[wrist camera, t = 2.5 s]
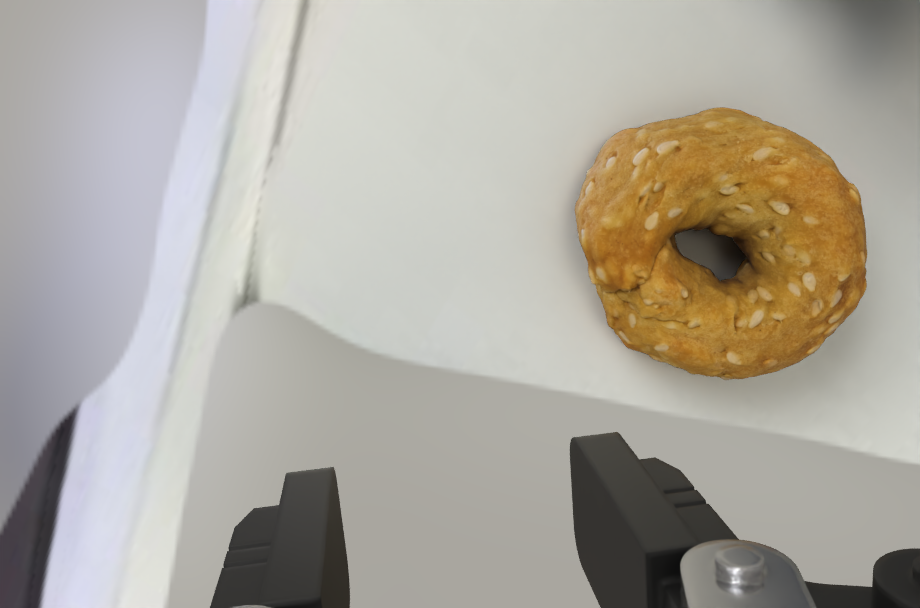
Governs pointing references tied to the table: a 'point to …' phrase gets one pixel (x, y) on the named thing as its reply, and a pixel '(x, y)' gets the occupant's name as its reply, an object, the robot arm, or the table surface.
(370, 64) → the table surface
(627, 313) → the bagel
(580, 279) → the table surface
